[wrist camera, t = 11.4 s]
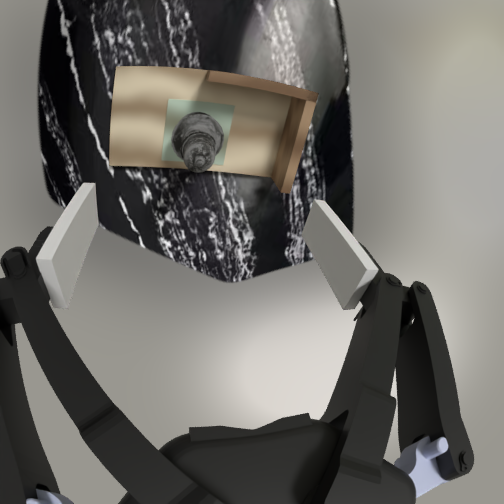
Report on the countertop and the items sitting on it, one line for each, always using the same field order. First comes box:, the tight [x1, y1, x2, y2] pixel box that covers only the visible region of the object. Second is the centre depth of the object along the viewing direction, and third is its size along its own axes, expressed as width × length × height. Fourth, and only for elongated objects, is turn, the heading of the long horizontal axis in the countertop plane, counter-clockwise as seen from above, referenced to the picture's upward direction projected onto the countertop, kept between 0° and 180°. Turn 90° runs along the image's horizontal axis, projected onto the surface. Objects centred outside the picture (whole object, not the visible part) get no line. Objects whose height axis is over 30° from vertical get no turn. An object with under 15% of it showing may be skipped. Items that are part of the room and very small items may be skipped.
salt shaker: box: [171, 112, 224, 173], centre depth 26 cm, size 6×6×12 cm
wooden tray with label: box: [109, 66, 319, 193], centre depth 29 cm, size 13×23×6 cm, turn 78°
